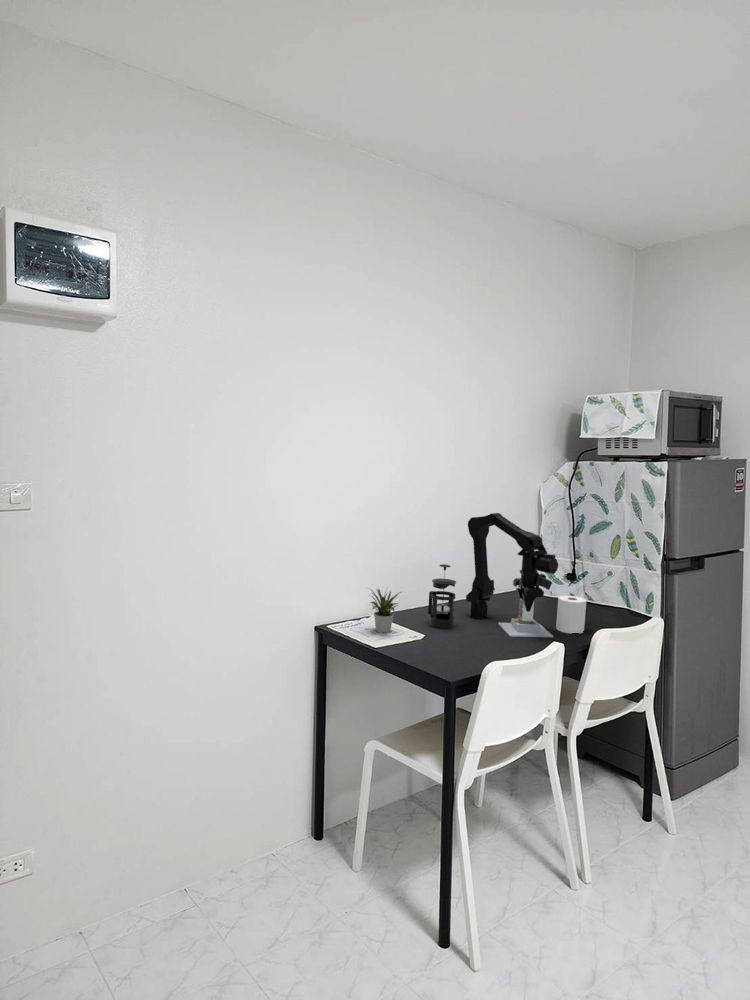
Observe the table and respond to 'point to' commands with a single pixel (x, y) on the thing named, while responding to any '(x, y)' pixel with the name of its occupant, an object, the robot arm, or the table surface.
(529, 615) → the column
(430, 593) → the french press
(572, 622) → the toilet paper
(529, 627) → the stand base
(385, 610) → the house plant
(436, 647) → the table surface
